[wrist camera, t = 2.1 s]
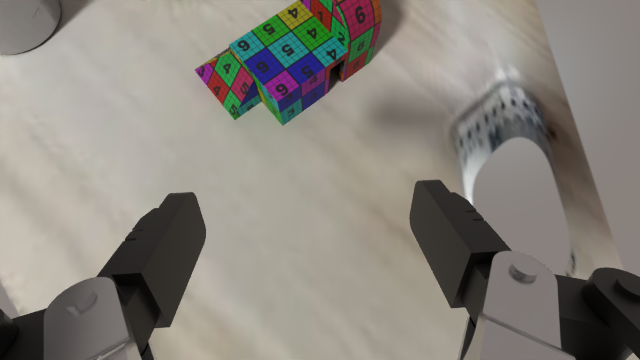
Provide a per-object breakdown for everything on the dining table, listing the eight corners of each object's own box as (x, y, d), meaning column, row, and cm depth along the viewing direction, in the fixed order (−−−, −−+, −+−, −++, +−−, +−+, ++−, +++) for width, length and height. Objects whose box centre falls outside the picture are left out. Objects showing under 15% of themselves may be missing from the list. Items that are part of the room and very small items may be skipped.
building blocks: (309, 2, 32) (308, -84, 23) (368, 64, 30) (390, -5, 22) (197, 74, 29) (152, 7, 21) (256, 146, 28) (232, 104, 19)
